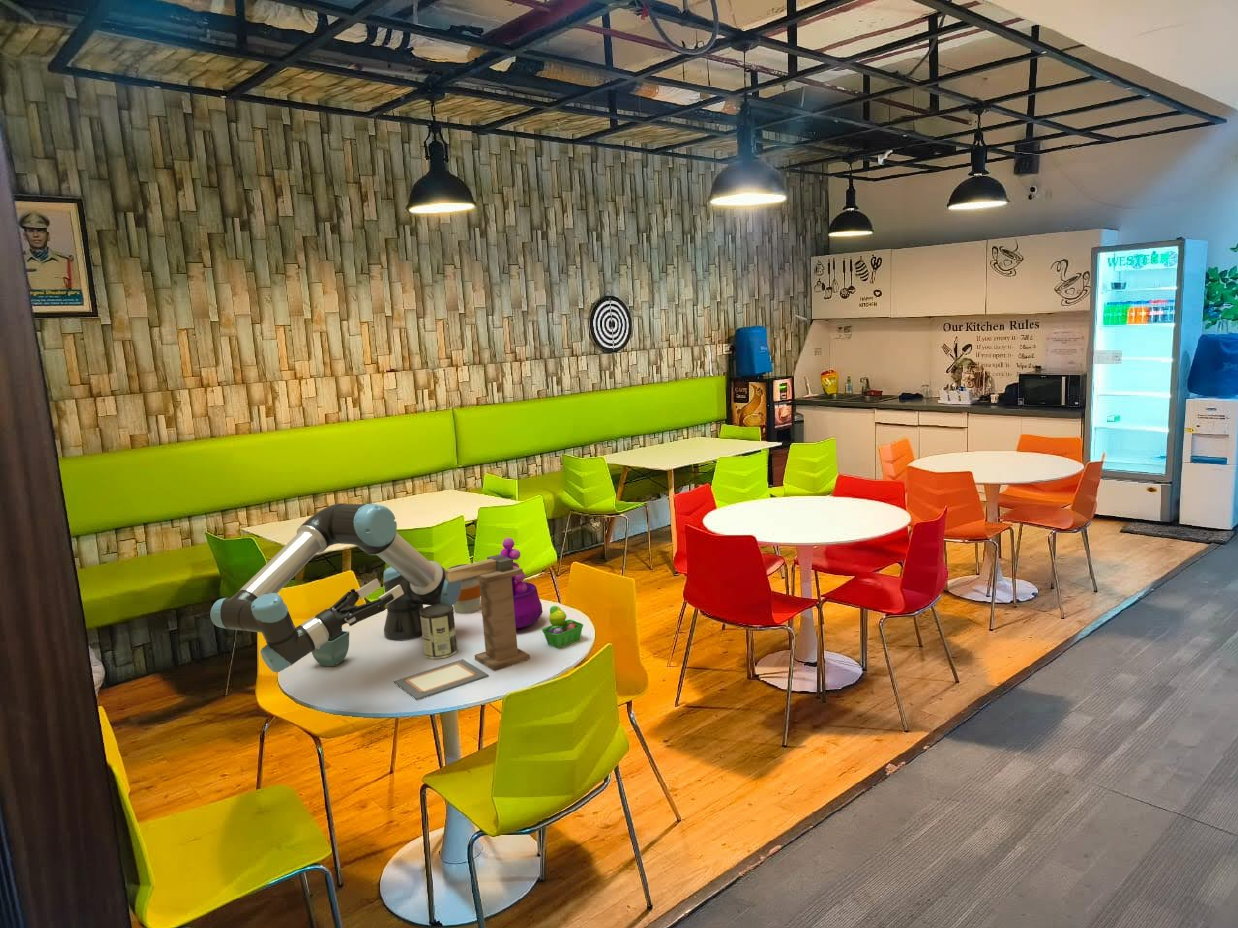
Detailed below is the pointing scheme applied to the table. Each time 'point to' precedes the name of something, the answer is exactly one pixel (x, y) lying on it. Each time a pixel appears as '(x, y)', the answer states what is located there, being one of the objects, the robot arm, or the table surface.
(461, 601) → the reusable coffee cup
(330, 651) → the flower pot
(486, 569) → the wooden handled hammer
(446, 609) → the coffee can
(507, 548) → the decorative plant
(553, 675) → the table surface
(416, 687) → the pad
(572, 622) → the fruit basket
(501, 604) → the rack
